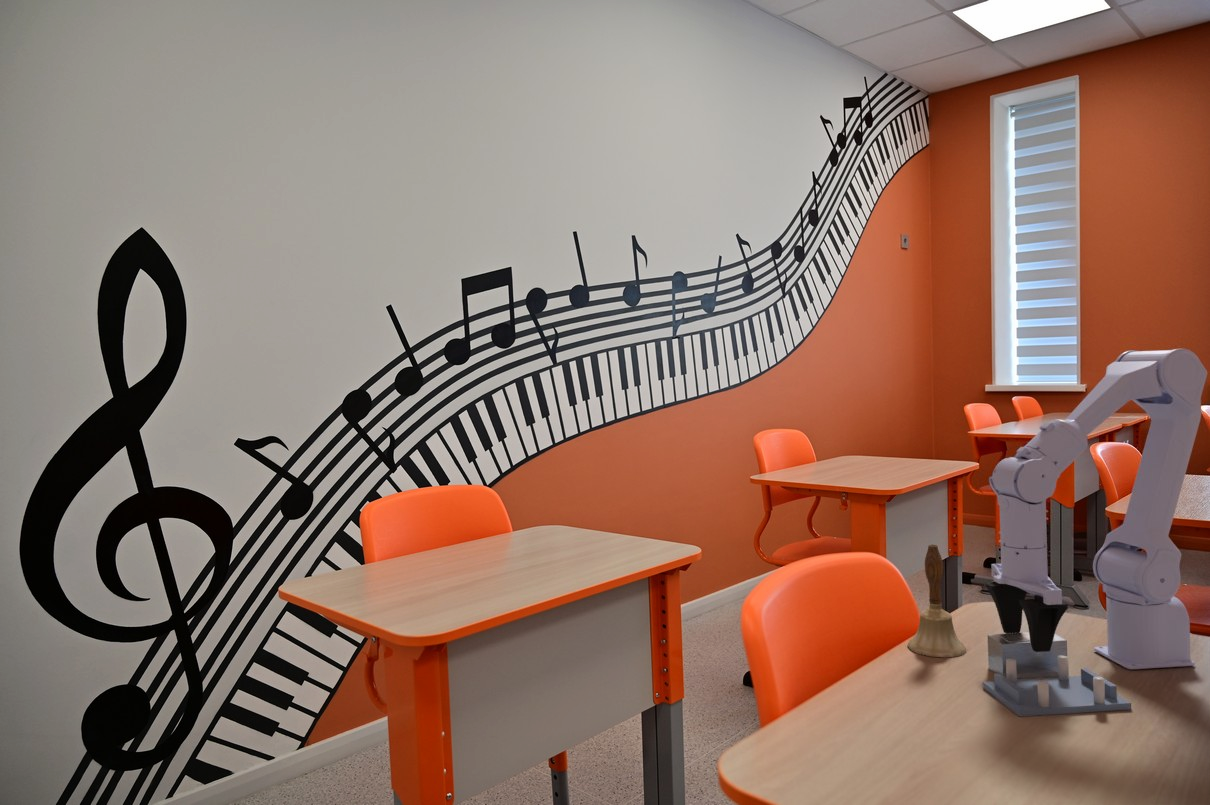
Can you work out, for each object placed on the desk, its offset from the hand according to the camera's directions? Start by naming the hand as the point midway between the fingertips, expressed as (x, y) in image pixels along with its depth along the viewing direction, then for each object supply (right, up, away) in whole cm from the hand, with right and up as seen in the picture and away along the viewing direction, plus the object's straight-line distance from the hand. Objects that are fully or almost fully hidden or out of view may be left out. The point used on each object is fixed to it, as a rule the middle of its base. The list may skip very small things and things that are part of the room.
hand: (1026, 641), depth 113 cm
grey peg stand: (-1, -5, -9) cm, 10 cm away
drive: (0, -4, 0) cm, 5 cm away
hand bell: (-8, -5, +11) cm, 14 cm away
